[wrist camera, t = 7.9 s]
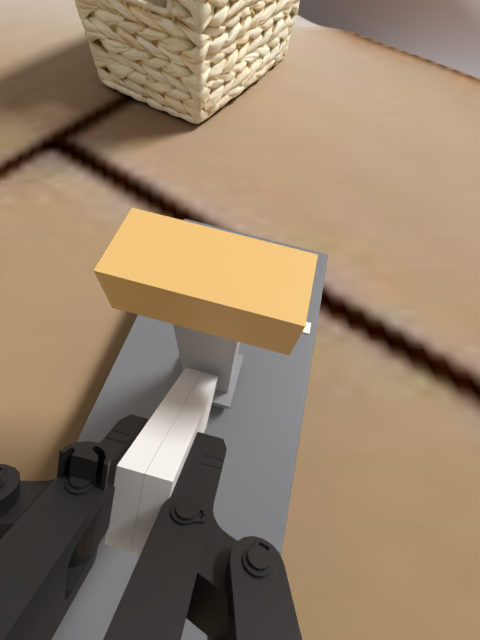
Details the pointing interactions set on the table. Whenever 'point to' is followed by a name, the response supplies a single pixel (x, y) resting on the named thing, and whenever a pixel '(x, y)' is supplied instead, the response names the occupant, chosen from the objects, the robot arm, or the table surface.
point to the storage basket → (186, 48)
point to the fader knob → (209, 290)
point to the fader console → (229, 424)
